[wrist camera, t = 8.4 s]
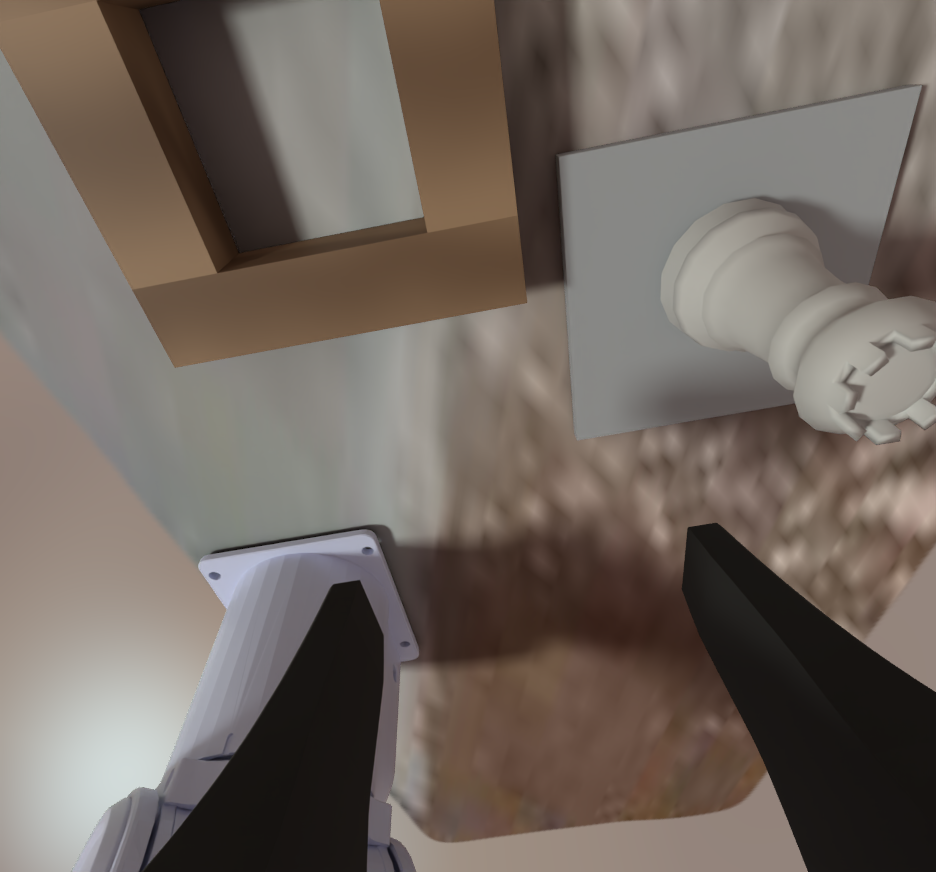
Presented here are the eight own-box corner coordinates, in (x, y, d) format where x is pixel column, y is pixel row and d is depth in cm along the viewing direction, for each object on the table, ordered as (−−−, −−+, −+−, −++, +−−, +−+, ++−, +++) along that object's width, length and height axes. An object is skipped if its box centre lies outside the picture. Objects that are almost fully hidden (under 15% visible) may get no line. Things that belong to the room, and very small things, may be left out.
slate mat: (830, 389, 21) (838, 396, 20) (574, 433, 21) (577, 440, 21) (908, 84, 15) (921, 85, 14) (555, 154, 15) (559, 156, 15)
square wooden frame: (518, 281, 17) (527, 302, 16) (198, 340, 18) (174, 367, 16) (459, -224, 11) (463, -274, 10) (-28, -109, 12) (-102, -139, 10)
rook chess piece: (756, 160, 15) (1000, 226, 9) (817, 270, 17) (1053, 393, 11) (627, 268, 17) (752, 393, 10) (696, 358, 19) (838, 511, 12)
